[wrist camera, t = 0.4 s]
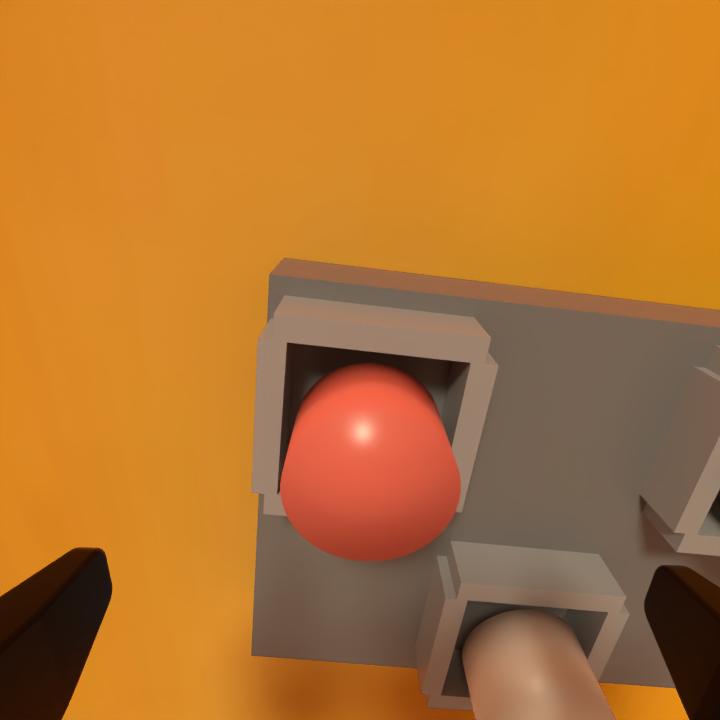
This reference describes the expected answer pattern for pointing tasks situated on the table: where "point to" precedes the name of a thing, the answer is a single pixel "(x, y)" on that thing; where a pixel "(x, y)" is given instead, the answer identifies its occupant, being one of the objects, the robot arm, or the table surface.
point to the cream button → (530, 670)
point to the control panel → (497, 468)
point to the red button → (369, 465)
